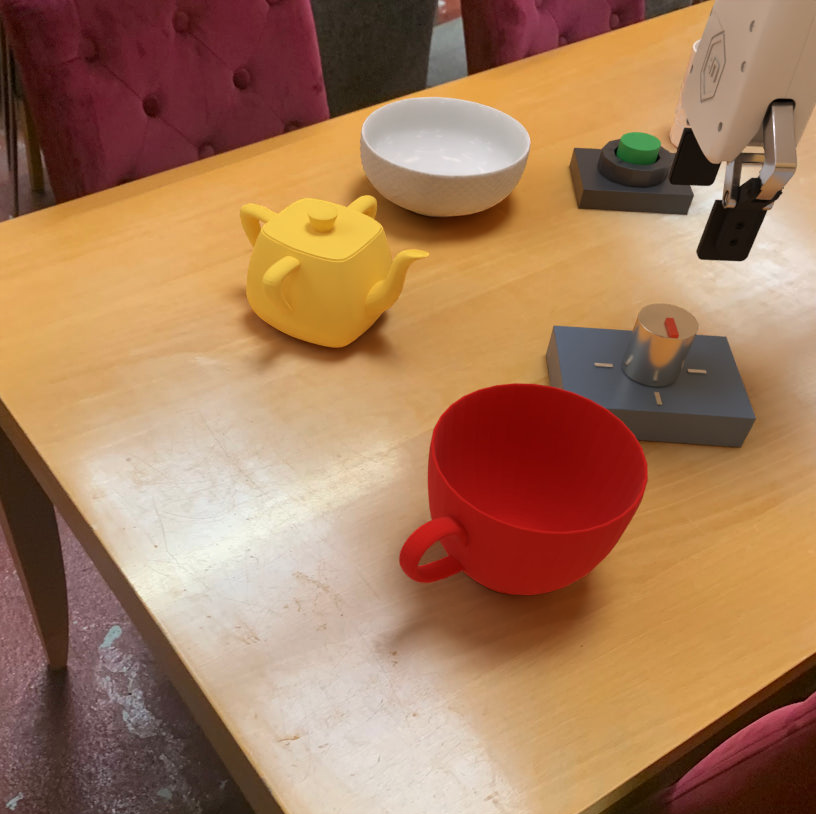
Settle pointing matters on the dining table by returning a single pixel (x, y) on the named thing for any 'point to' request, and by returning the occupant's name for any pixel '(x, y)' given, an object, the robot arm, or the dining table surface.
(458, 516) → the ceramic cup
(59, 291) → the dining table surface
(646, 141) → the button
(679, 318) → the program dial
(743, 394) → the panel
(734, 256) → the robot arm
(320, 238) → the teapot
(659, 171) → the button block
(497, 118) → the cereal bowl
